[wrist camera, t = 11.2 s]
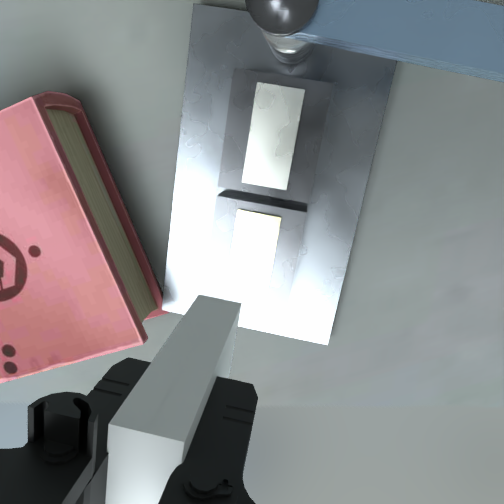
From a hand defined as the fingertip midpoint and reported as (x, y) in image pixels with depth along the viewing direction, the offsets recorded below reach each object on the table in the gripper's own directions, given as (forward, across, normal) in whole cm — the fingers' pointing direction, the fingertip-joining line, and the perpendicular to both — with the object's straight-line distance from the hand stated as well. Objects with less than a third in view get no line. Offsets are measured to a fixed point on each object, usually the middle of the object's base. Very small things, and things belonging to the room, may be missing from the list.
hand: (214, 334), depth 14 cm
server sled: (+12, 0, +4) cm, 13 cm away
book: (+13, -15, -3) cm, 20 cm away
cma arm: (+6, +7, +11) cm, 14 cm away
